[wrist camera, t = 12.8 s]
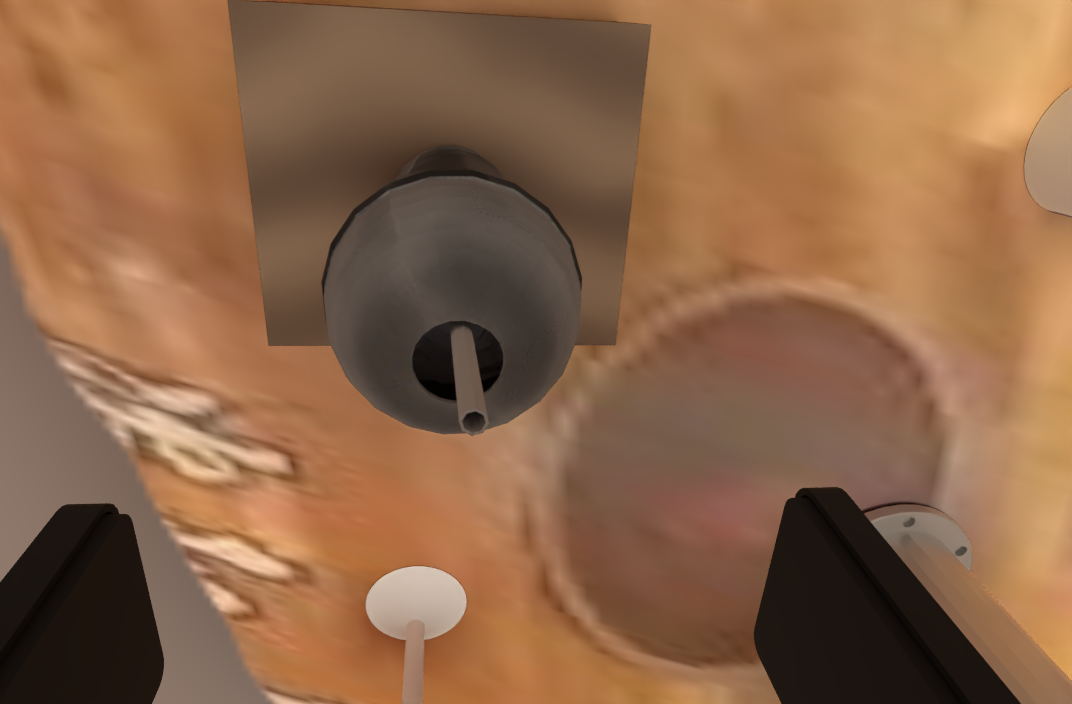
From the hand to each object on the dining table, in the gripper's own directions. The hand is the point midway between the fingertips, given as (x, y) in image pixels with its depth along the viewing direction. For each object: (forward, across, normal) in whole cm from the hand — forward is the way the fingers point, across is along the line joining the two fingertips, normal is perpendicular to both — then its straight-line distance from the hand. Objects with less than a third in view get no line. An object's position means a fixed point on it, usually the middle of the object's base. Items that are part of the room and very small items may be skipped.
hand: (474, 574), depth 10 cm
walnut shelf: (+28, 0, 0) cm, 28 cm away
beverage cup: (+22, 0, 0) cm, 23 cm away
